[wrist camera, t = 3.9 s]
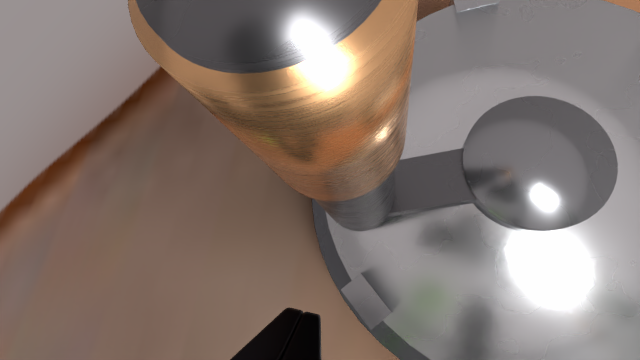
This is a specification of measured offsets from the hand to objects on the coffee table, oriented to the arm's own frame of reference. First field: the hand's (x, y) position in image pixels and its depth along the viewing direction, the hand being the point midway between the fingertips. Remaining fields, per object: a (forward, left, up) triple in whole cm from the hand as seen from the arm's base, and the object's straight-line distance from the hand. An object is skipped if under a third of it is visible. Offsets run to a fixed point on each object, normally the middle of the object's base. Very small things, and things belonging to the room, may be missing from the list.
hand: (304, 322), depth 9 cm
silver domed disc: (+8, -3, -8) cm, 12 cm away
